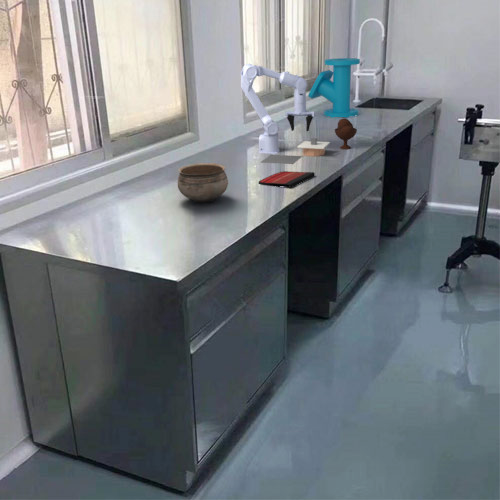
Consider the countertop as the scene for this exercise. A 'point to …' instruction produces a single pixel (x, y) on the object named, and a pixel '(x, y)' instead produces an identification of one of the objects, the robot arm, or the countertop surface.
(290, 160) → the mat
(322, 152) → the dish
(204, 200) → the cooking pot
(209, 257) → the countertop surface
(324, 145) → the cover sheet
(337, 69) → the pipe fitting
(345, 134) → the ice cream bowl
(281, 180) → the binder
